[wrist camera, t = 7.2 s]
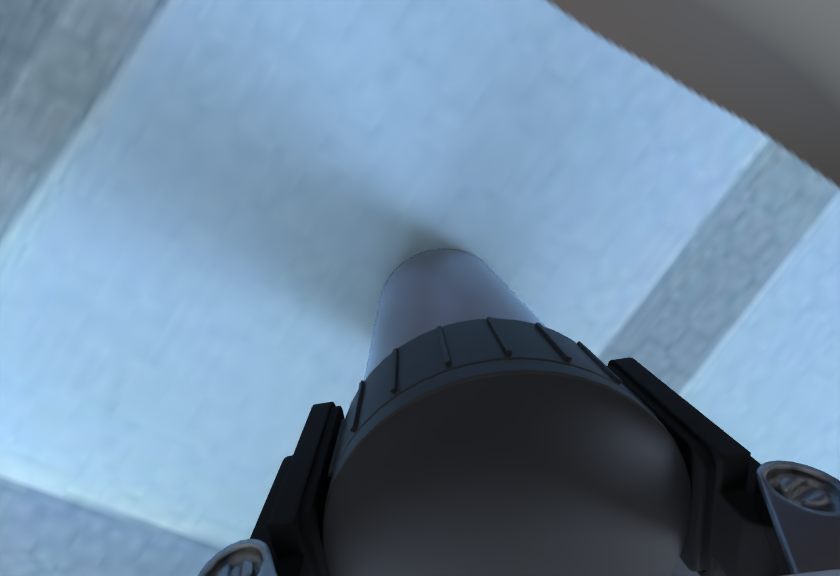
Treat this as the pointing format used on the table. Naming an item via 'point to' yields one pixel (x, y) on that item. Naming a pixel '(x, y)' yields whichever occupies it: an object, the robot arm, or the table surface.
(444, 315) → the jar
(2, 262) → the table surface
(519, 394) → the lid
